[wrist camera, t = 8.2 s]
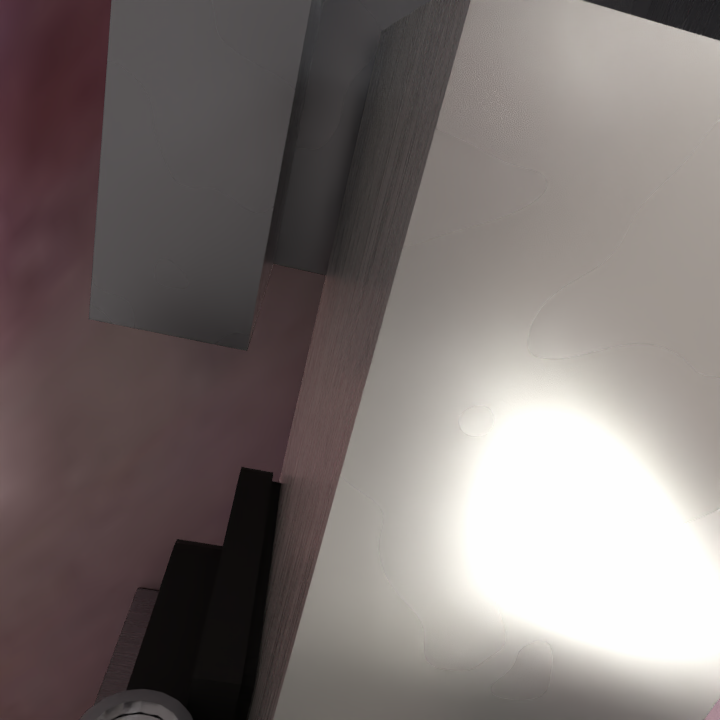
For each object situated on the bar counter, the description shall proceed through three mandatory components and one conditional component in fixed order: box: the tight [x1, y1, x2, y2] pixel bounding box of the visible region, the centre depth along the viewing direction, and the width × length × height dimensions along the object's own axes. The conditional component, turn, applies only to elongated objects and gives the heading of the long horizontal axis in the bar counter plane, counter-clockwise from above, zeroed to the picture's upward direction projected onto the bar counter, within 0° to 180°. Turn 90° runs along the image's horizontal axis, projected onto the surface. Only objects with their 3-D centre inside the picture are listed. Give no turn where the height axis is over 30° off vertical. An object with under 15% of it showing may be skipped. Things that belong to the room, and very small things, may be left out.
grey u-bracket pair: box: [89, 0, 720, 705], centre depth 12 cm, size 23×8×5 cm, turn 166°
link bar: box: [246, 0, 720, 720], centre depth 9 cm, size 16×3×6 cm, turn 166°
